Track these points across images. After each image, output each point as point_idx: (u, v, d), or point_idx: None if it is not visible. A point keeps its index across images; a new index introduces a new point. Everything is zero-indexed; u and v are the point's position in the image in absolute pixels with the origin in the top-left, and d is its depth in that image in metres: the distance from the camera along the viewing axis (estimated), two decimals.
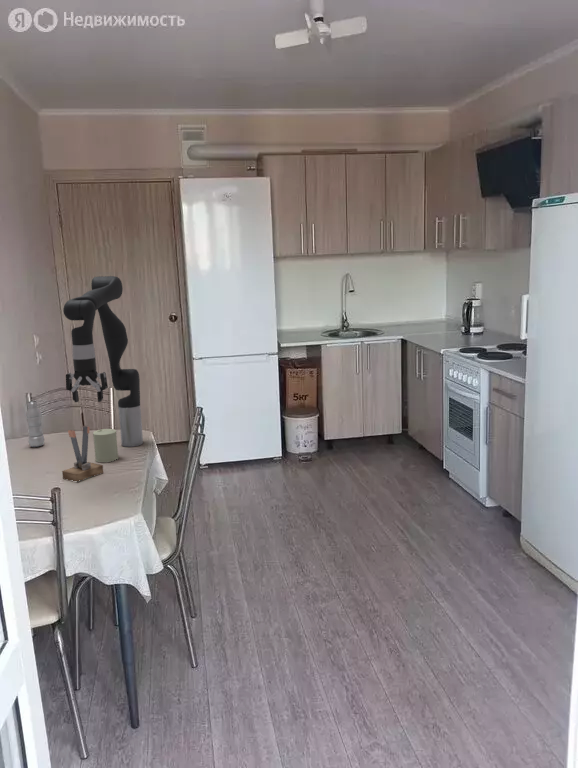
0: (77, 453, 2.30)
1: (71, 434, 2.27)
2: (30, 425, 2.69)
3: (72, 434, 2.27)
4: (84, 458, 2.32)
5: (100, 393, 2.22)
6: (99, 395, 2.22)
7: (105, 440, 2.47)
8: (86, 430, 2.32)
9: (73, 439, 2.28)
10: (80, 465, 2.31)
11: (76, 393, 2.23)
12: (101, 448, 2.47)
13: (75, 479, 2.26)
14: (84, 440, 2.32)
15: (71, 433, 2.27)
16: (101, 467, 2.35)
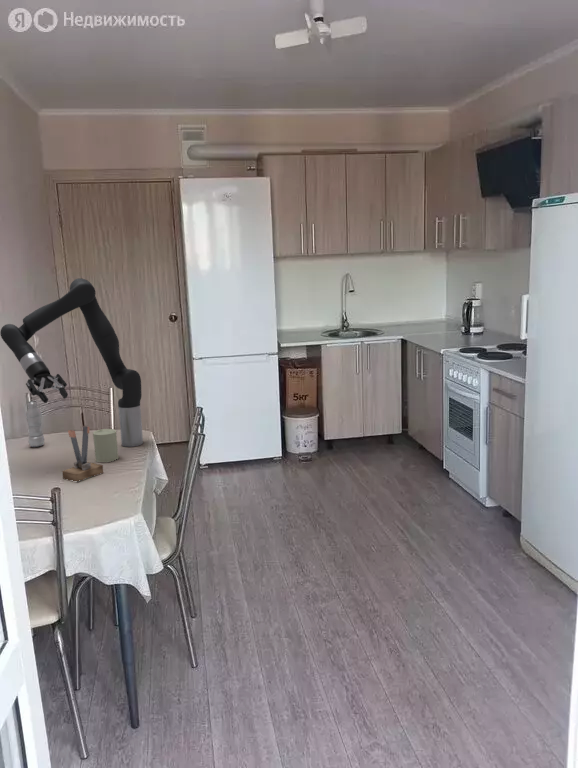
0: (77, 453, 2.30)
1: (71, 434, 2.27)
2: (30, 425, 2.69)
3: (72, 434, 2.27)
4: (84, 458, 2.32)
5: None
6: None
7: (105, 440, 2.47)
8: (86, 430, 2.32)
9: (73, 439, 2.28)
10: (80, 465, 2.31)
11: (60, 391, 2.38)
12: (101, 448, 2.47)
13: (75, 479, 2.26)
14: (84, 440, 2.32)
15: (71, 433, 2.27)
16: (101, 467, 2.35)
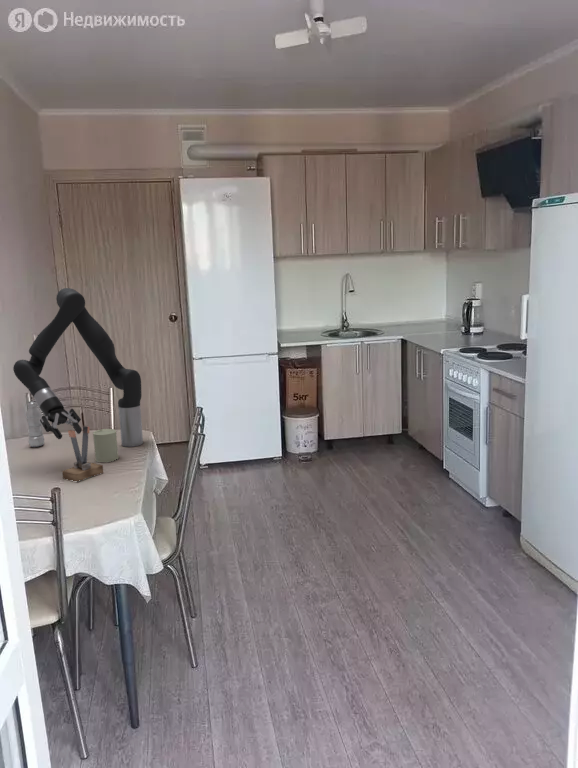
0: (77, 453, 2.30)
1: (71, 434, 2.27)
2: (30, 425, 2.69)
3: (72, 434, 2.27)
4: (84, 458, 2.32)
5: None
6: None
7: (105, 440, 2.47)
8: (86, 430, 2.32)
9: (73, 439, 2.28)
10: (80, 465, 2.31)
11: (74, 426, 2.37)
12: (101, 448, 2.47)
13: (75, 479, 2.26)
14: (84, 440, 2.32)
15: (71, 433, 2.27)
16: (101, 467, 2.35)
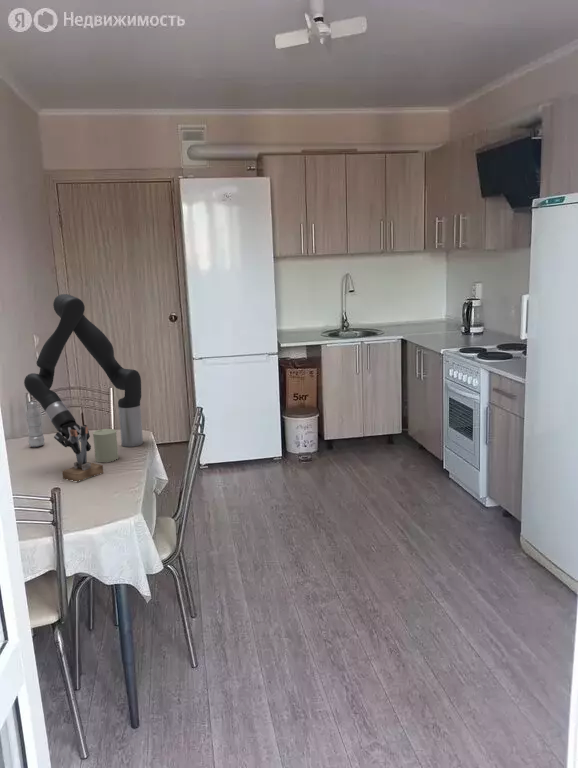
0: None
1: (73, 433, 2.28)
2: (30, 425, 2.69)
3: (74, 433, 2.27)
4: (84, 458, 2.32)
5: None
6: None
7: (105, 440, 2.47)
8: (84, 430, 2.31)
9: (74, 438, 2.28)
10: (80, 465, 2.31)
11: None
12: (101, 448, 2.47)
13: (75, 479, 2.26)
14: (83, 440, 2.32)
15: (73, 432, 2.27)
16: (101, 467, 2.35)
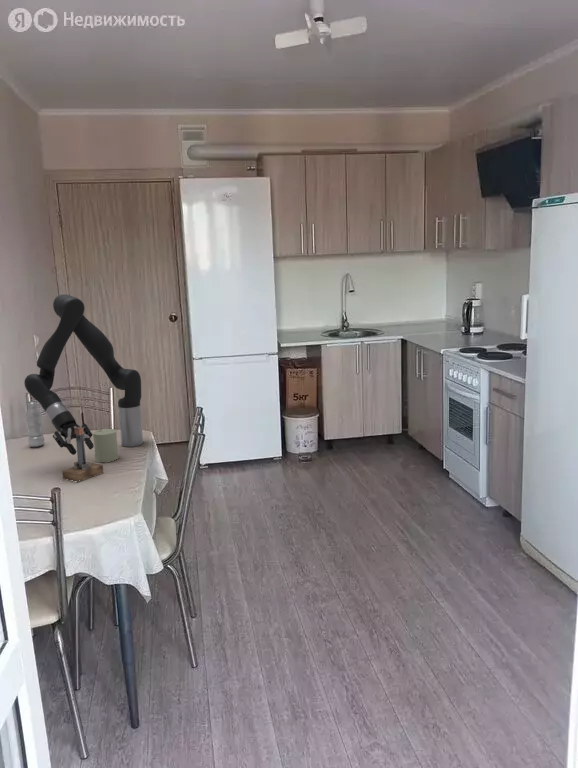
0: (79, 452, 2.31)
1: (77, 431, 2.29)
2: (30, 425, 2.69)
3: (78, 431, 2.29)
4: (83, 458, 2.32)
5: None
6: None
7: (105, 440, 2.47)
8: None
9: (78, 437, 2.30)
10: (80, 465, 2.32)
11: (86, 442, 2.34)
12: (101, 448, 2.47)
13: (75, 479, 2.26)
14: None
15: (77, 430, 2.29)
16: (101, 467, 2.35)
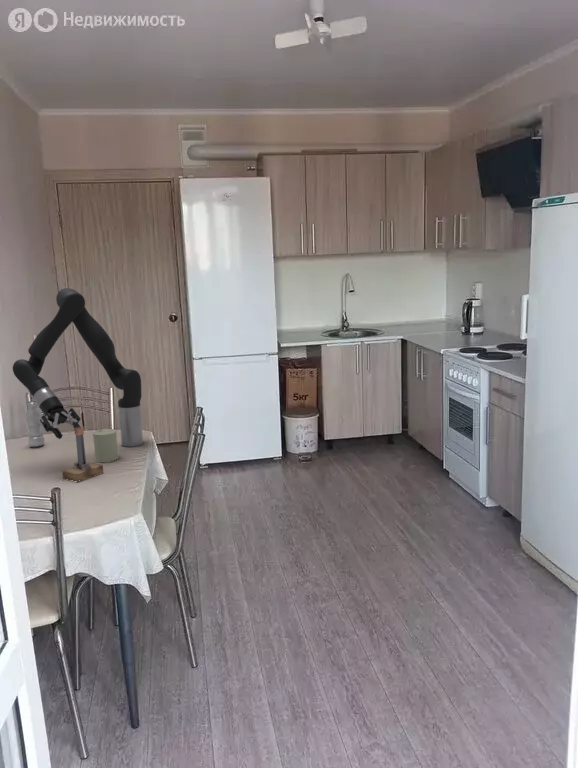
0: (79, 452, 2.31)
1: (77, 431, 2.29)
2: (30, 425, 2.69)
3: (78, 431, 2.29)
4: (83, 458, 2.32)
5: None
6: None
7: (105, 440, 2.47)
8: None
9: (78, 437, 2.30)
10: (80, 465, 2.32)
11: (74, 426, 2.37)
12: (101, 448, 2.47)
13: (75, 479, 2.26)
14: None
15: (77, 430, 2.29)
16: (101, 467, 2.35)
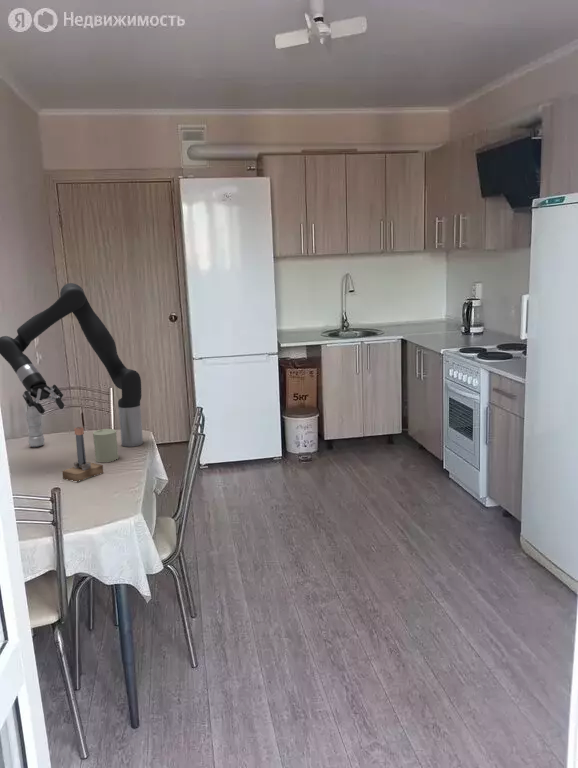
0: (79, 452, 2.31)
1: (77, 431, 2.29)
2: (30, 425, 2.69)
3: (78, 431, 2.29)
4: (83, 458, 2.32)
5: None
6: None
7: (105, 440, 2.47)
8: None
9: (78, 437, 2.30)
10: (80, 465, 2.32)
11: (57, 402, 2.41)
12: (101, 448, 2.47)
13: (75, 479, 2.26)
14: None
15: (77, 430, 2.29)
16: (101, 467, 2.35)
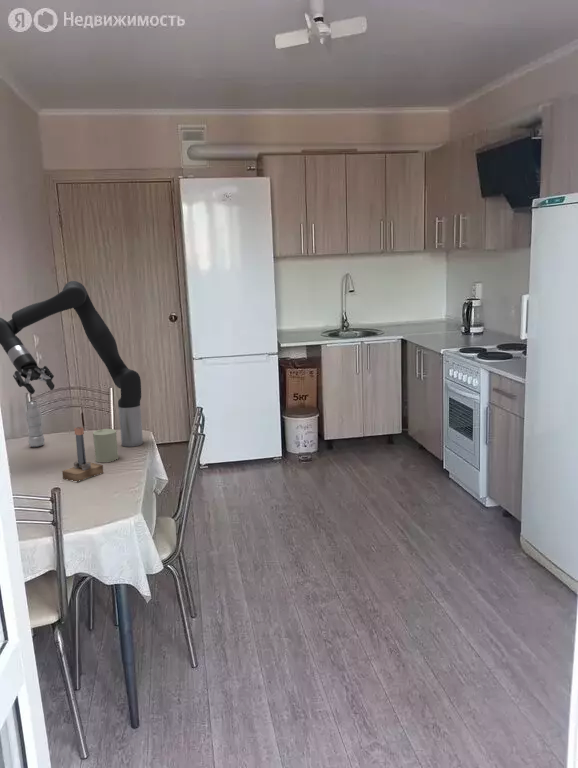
0: (79, 452, 2.31)
1: (77, 431, 2.29)
2: (30, 425, 2.69)
3: (78, 431, 2.29)
4: (83, 458, 2.32)
5: None
6: None
7: (105, 440, 2.47)
8: None
9: (78, 437, 2.30)
10: (80, 465, 2.32)
11: (47, 383, 2.43)
12: (101, 448, 2.47)
13: (75, 479, 2.26)
14: None
15: (77, 430, 2.29)
16: (101, 467, 2.35)
